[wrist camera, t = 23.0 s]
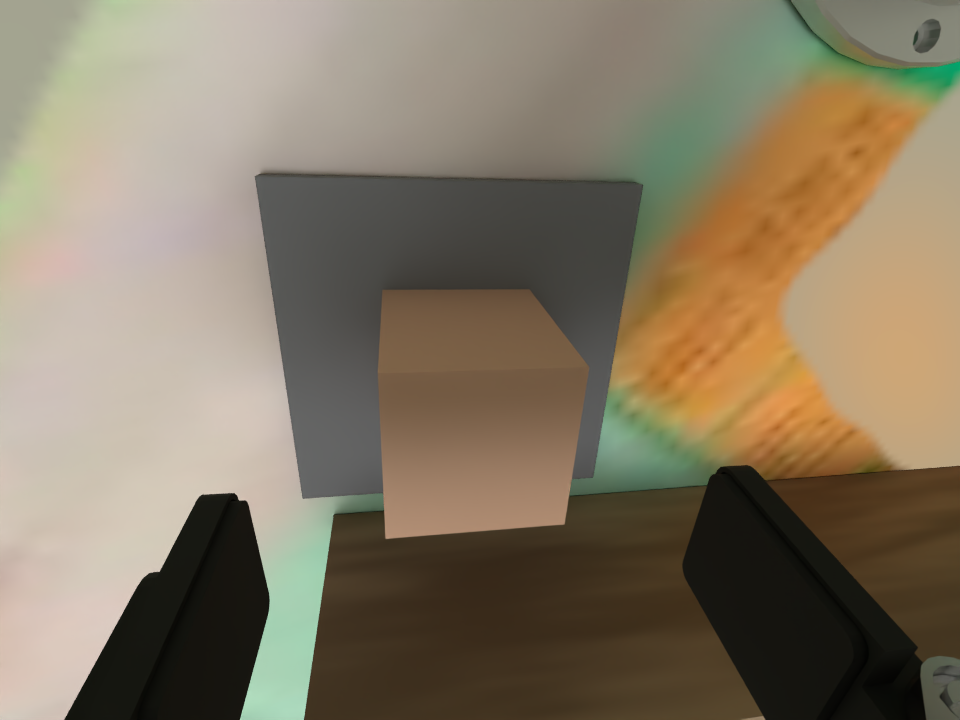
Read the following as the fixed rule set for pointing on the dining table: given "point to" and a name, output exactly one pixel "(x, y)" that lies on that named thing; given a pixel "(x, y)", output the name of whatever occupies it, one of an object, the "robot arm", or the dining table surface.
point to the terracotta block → (475, 411)
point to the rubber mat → (428, 266)
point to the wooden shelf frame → (601, 604)
